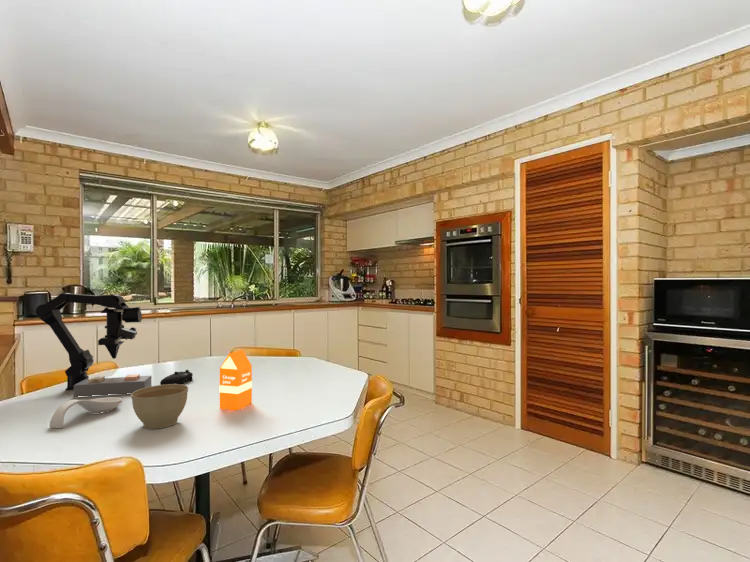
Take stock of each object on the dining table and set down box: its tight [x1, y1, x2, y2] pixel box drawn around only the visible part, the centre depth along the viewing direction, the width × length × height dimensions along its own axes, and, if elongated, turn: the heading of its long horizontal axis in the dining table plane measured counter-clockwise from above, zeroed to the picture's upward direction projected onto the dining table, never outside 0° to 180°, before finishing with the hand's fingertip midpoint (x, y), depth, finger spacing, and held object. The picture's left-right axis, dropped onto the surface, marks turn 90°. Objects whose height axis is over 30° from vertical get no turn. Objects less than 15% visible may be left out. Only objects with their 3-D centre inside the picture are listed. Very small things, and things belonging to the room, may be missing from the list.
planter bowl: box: [130, 384, 189, 430], centre depth 128 cm, size 16×16×11 cm
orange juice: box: [219, 349, 253, 411], centre depth 146 cm, size 8×9×20 cm
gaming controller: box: [159, 369, 194, 385], centre depth 182 cm, size 14×6×10 cm
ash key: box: [88, 376, 106, 383], centre depth 163 cm, size 4×4×4 cm
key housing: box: [73, 375, 152, 398], centre depth 165 cm, size 25×10×5 cm, turn 105°
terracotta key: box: [123, 374, 141, 381], centre depth 167 cm, size 4×4×4 cm
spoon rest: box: [49, 396, 123, 429], centre depth 136 cm, size 24×12×7 cm, turn 172°
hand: (114, 358), depth 176 cm, fingers closed
